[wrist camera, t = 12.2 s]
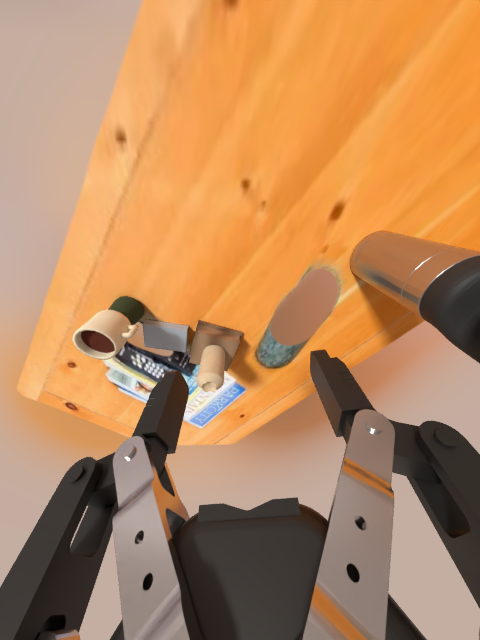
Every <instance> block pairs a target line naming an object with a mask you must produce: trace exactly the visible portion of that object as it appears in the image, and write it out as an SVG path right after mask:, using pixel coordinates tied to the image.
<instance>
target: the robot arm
mask: <svg viewBox="0 0 480 640" xmlns="http://www.w3.org/2000/svg"><path fill="white" fill-rule="evenodd" d="M350 268H351V271H352V272H353V273H354V274H355V275H356V276H357V277H359V278H360V279H362V280H363V281H365V282H366V283H368V284H370V285H371V286H373V287H374V288H376V289H377V290H379V291H380V292H382V293H383V294H385V295H387V296H388V297H390V298H391V299H393V300H394V301H396V302H397V303H399V304H401V305H402V306H404V307H405V308H407V309H409V310H410V311H412V312H413V313H415V314H416V315H418V316H419V317H421V318H423V319H424V320H426V321H427V322H429V323H430V324H432V325H433V326H434V327H435V328H437V329H438V330H439V331H440V332H441V333H442V334H443V335H444V336H445V337H446V338H447V339H448V340H449V341H450V342H451V343H452V344H454V345H455V346H456V347H458V348H459V349H460V350H462V351H463V352H465V353H466V354H467V355H469V356H470V357H472V358H473V359H475V360H476V361H477V362H479V363H480V252H478V251H474V250H469V249H465V248H460V247H455V246H451V245H446V244H442V243H437V242H433V241H428V240H424V239H419V238H415V237H410V236H406V235H402V234H397V233H392V232H387V231H379V232H375V233H373V234H371V235H369V236H367V237H366V238H364V239H363V240H362V241H361V242H360V243H359V244H358V245H357V246H356V248H355V249H354V251H353V253H352V256H351V259H350ZM310 372H311V377H312V380H313V382H314V384H315V387H316V389H317V391H318V394H319V396H320V399H321V401H322V404H323V406H324V408H325V411H326V413H327V415H328V418H329V420H330V423H331V425H332V428H333V430H334V432H335V435H336V437H340V436H343V437H344V439H345V441H346V444H347V445H346V449H345V454H344V458H343V462H342V466H341V470H340V474H339V478H338V482H337V487H336V490H335V494H334V498H333V502H332V506H331V510H330V514H329V518H328V521H327V520H326V519H325V518H324V517H323V516H322V515H320V514H319V513H318V512H316V511H315V510H313V509H311V508H309V507H307V506H305V505H302V504H299V503H298V498H287V499H273V500H270V501H268V502H266V503H264V504H262V505H260V506H258V507H255V508H253V509H251V510H248V511H246V510H242V509H239V508H235V507H232V506H229V505H226V504H210V505H200V506H199V513H197V514H195V515H194V516H192V517H191V518H189V515H188V513H187V510H186V508H185V507H184V505H183V503H182V502H181V500H180V498H179V496H178V493H177V491H176V488H175V485H174V482H173V480H172V477H171V474H170V471H169V469H168V466H167V463H166V462H165V460H166V456H167V454H171V453H175V450H176V446H177V442H178V437H179V433H180V429H181V425H182V421H183V416H184V412H185V408H186V404H187V400H188V395H189V388H188V385H187V383H186V381H185V379H184V377H183V376H182V374H181V372H180V371H179V370H178V371H171V372H166V373H165V375H164V377H163V380H162V382H158V383H157V385H156V386H155V387H154V388H153V390H152V392H151V394H150V396H149V400H148V401H147V403H146V407H145V408H144V410H143V412H142V415H141V417H140V419H139V422H138V424H137V426H136V429H135V431H134V433H133V435H132V437H131V438H129V439H127V440H126V441H125V442H123V444H121V446H120V447H119V448H118V449H117V451H116V452H115V453H113V454H110V455H108V456H106V457H104V458H102V459H100V460H97V461H96V460H95V459H93V458H91V457H86V458H83V459H81V460H79V461H78V462H76V463H75V464H74V465H73V466H72V467H71V468H70V469H69V470H68V471H67V473H66V474H65V476H64V477H63V479H62V481H61V482H60V484H59V486H58V488H57V489H56V491H55V493H54V494H53V496H52V498H51V500H50V501H49V503H48V505H47V507H46V508H45V510H44V512H43V514H42V516H41V517H40V519H39V521H38V522H37V524H36V526H35V528H34V529H33V531H32V533H31V535H30V537H29V538H28V540H27V542H26V543H25V545H24V547H23V549H22V551H21V552H20V554H19V556H18V557H17V559H16V561H15V563H14V564H13V566H12V568H11V570H10V571H9V573H8V575H7V577H6V578H5V580H4V582H3V584H2V586H1V587H0V640H80V636H79V630H80V627H81V624H82V621H83V618H84V615H85V612H86V609H87V606H88V602H89V600H90V597H91V594H92V590H93V588H94V585H95V582H96V579H97V576H98V573H99V570H100V567H101V563H102V561H103V557H104V554H105V552H106V549H107V546H108V542H109V540H110V537H111V533H112V530H113V534H114V544H115V553H116V563H117V572H118V581H119V591H120V599H121V609H122V621H121V622H120V624H119V625H118V627H117V629H116V630H115V632H114V634H113V635H112V637H111V639H110V640H426V638H425V637H424V636H423V635H422V634H421V632H420V631H419V630H418V629H417V627H416V626H415V625H414V624H413V623H412V621H411V620H410V619H409V618H408V617H407V615H406V614H405V613H404V612H403V611H402V609H401V608H400V607H399V606H398V604H397V603H396V602H395V601H394V600H393V598H392V597H391V596H390V595H389V593H388V588H389V573H390V571H389V570H390V557H391V542H392V528H393V513H394V493H393V490H392V488H391V478H392V472H393V473H397V474H401V475H404V476H407V478H408V480H409V481H410V484H411V485H412V487H413V489H414V491H415V493H416V494H417V496H418V498H419V500H420V502H421V503H422V505H423V507H424V509H425V511H426V512H427V514H428V516H429V518H430V520H431V521H432V523H433V525H434V527H435V529H436V530H437V532H438V534H439V536H440V538H441V539H442V541H443V543H444V545H445V547H446V549H447V550H448V552H449V554H450V556H451V558H452V559H453V561H454V563H455V565H456V566H457V568H458V570H459V572H460V574H461V575H462V577H463V579H464V581H465V583H466V585H467V586H468V588H469V590H470V592H471V593H472V595H473V597H474V599H475V601H476V603H477V604H478V606H479V608H480V454H479V453H478V452H477V451H476V450H475V449H474V448H473V447H472V445H471V444H470V443H469V442H468V441H467V440H466V439H465V437H463V436H462V435H461V434H460V433H459V432H458V431H456V430H455V429H453V428H452V427H450V426H448V425H446V424H443V423H440V422H436V421H426V422H424V423H422V424H421V425H420V426H414V425H409V424H404V423H399V422H395V421H392V420H389V419H387V418H386V417H385V416H383V415H382V414H380V413H379V412H377V411H376V410H375V409H374V408H373V407H372V405H371V403H370V402H369V400H368V399H367V397H366V396H365V394H364V393H363V391H362V390H361V388H360V386H359V385H358V383H357V382H356V381H355V380H354V377H353V376H352V374H351V373H350V371H349V370H348V368H347V366H346V365H345V363H343V362H342V361H341V360H339V359H338V358H337V357H335V358H330V357H329V355H328V353H327V352H326V350H317V351H311V355H310ZM86 506H88V508H87V511H86V513H85V515H84V518H83V520H82V522H81V524H80V527H79V529H78V531H77V533H76V536H75V538H74V540H73V543H72V545H71V547H70V544H71V541H72V538H73V536H74V533H75V531H76V529H77V527H78V524H79V522H80V520H81V518H82V515H83V513H84V511H85V509H86ZM479 640H480V629H479Z"/></svg>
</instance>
